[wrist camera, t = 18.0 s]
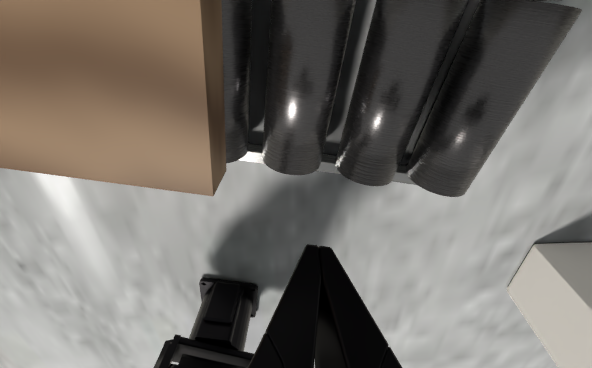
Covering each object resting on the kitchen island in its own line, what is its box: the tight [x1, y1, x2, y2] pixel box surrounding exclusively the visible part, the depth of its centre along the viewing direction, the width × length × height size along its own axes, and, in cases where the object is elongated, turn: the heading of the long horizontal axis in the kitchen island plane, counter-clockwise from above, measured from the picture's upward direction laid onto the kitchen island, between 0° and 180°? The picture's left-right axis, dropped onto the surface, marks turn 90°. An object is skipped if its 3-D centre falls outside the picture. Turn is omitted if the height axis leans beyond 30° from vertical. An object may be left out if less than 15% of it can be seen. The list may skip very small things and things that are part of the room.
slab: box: [0, 0, 226, 196], centre depth 11 cm, size 10×14×2 cm
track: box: [221, 0, 582, 197], centre depth 15 cm, size 12×29×4 cm, turn 82°
